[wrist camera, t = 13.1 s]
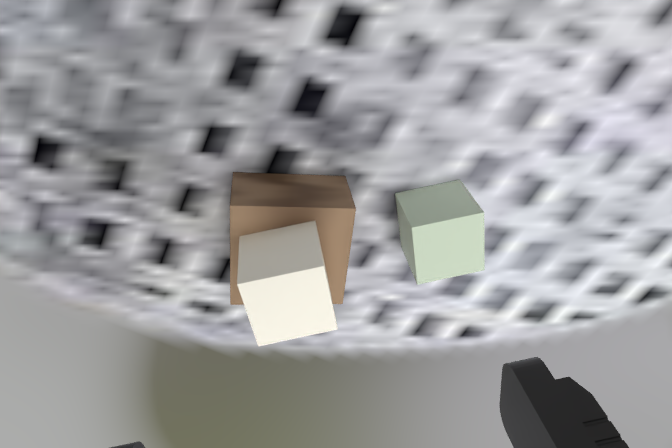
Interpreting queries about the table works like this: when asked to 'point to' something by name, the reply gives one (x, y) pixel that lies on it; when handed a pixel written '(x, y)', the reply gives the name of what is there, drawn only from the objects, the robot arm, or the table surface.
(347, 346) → the table surface
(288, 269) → the cream cube
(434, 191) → the sage green cube
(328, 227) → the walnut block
